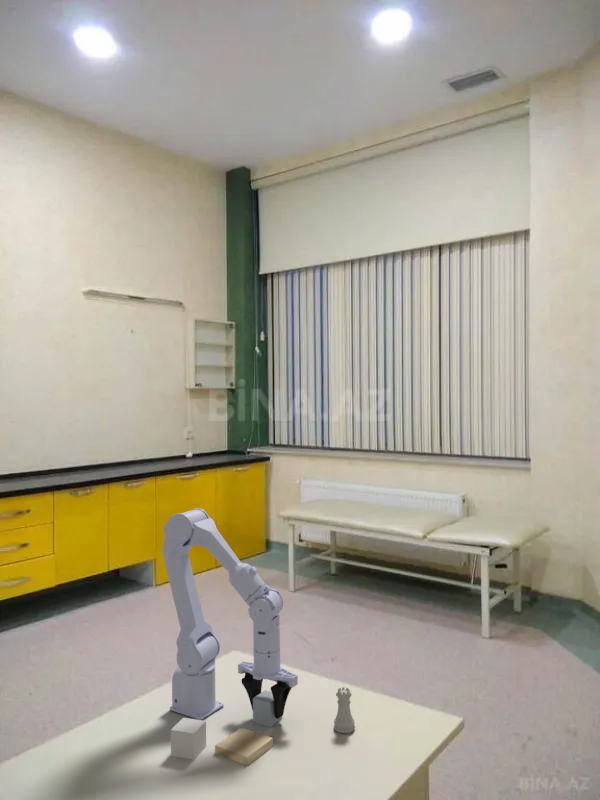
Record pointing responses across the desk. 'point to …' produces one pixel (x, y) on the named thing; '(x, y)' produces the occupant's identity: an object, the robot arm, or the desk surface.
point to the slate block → (264, 709)
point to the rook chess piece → (344, 712)
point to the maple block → (244, 746)
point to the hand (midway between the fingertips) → (267, 713)
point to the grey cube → (188, 738)
